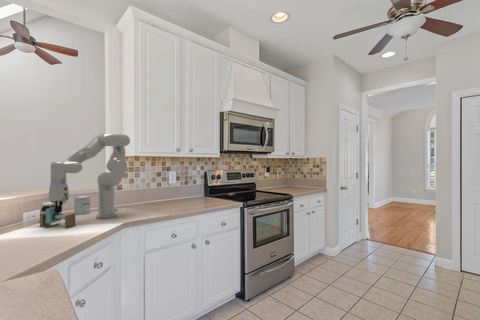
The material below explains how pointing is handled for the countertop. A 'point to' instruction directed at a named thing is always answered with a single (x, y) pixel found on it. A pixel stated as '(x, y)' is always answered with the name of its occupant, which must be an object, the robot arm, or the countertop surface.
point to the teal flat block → (49, 215)
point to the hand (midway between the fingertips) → (58, 212)
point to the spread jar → (46, 206)
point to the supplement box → (82, 205)
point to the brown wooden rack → (68, 218)
